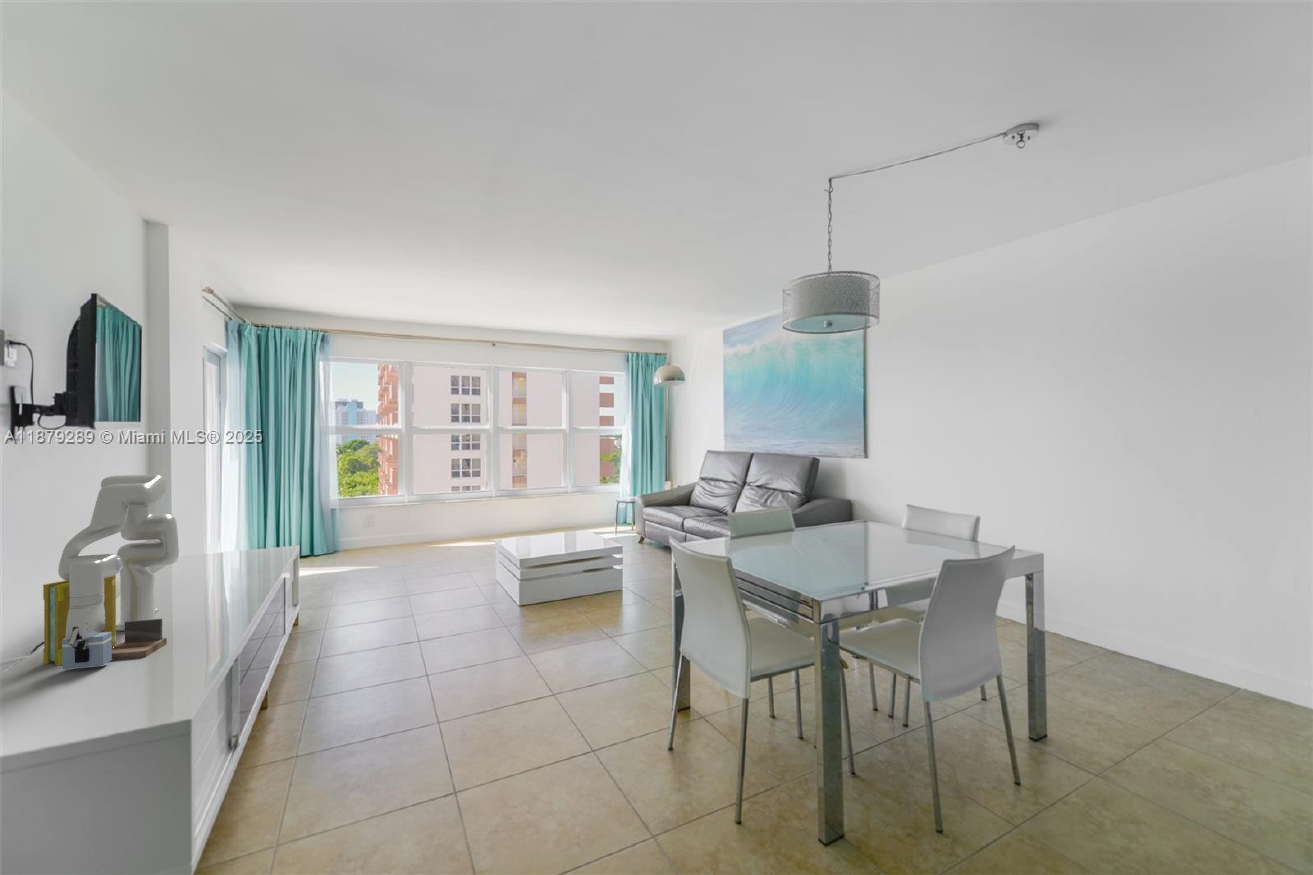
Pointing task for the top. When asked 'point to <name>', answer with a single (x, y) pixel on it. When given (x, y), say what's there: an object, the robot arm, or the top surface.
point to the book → (58, 612)
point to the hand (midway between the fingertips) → (87, 658)
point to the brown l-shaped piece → (140, 639)
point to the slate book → (97, 651)
